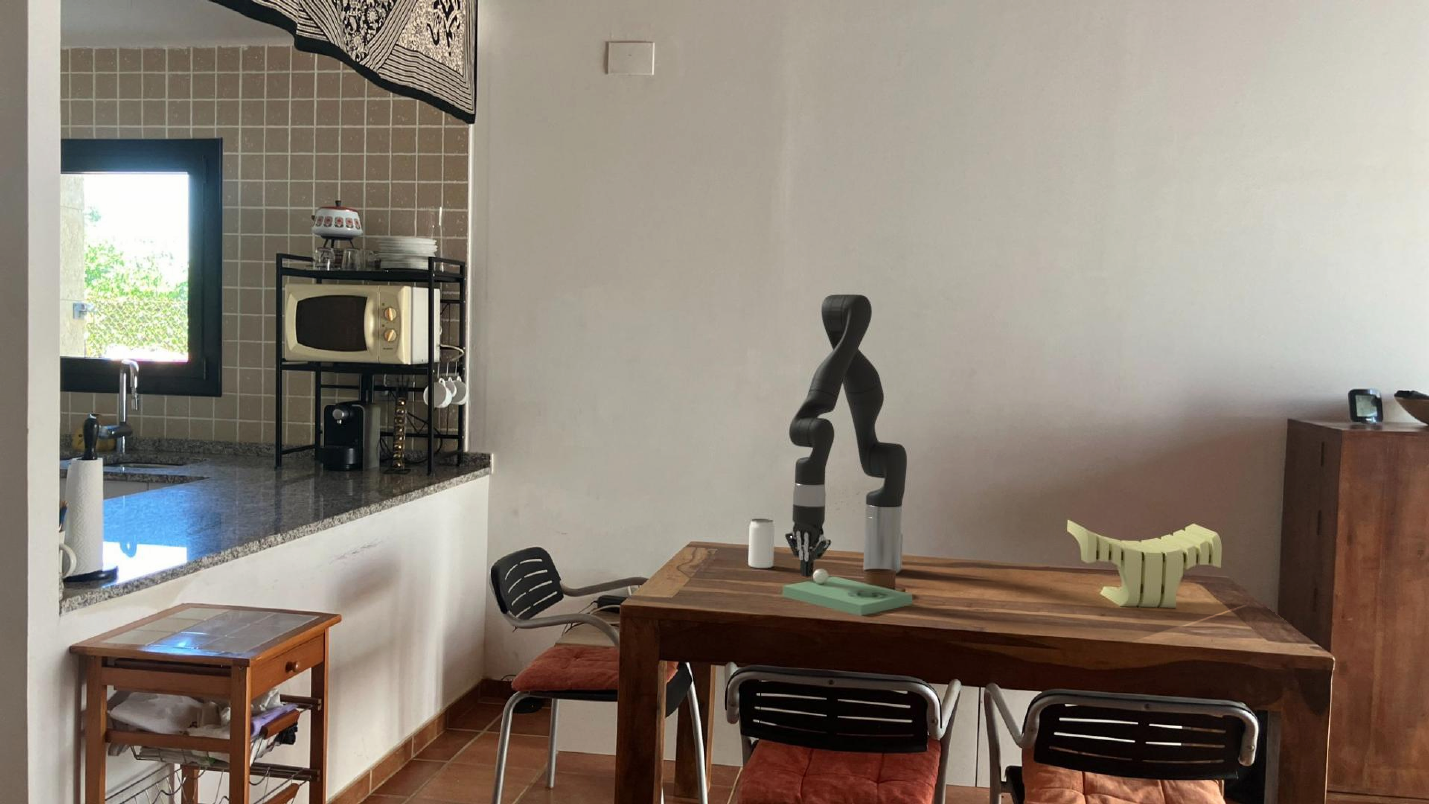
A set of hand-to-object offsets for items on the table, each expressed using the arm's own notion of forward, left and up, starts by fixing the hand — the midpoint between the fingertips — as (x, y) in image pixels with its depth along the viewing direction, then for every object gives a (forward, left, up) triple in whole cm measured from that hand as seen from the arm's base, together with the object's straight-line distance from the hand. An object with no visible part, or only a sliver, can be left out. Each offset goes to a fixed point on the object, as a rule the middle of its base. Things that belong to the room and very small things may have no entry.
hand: (806, 576), depth 261 cm
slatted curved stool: (-56, +54, -4) cm, 78 cm away
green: (0, +12, -4) cm, 13 cm away
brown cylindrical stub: (-12, +12, -4) cm, 18 cm away
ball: (0, +4, +1) cm, 4 cm away
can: (-12, -27, -4) cm, 30 cm away
